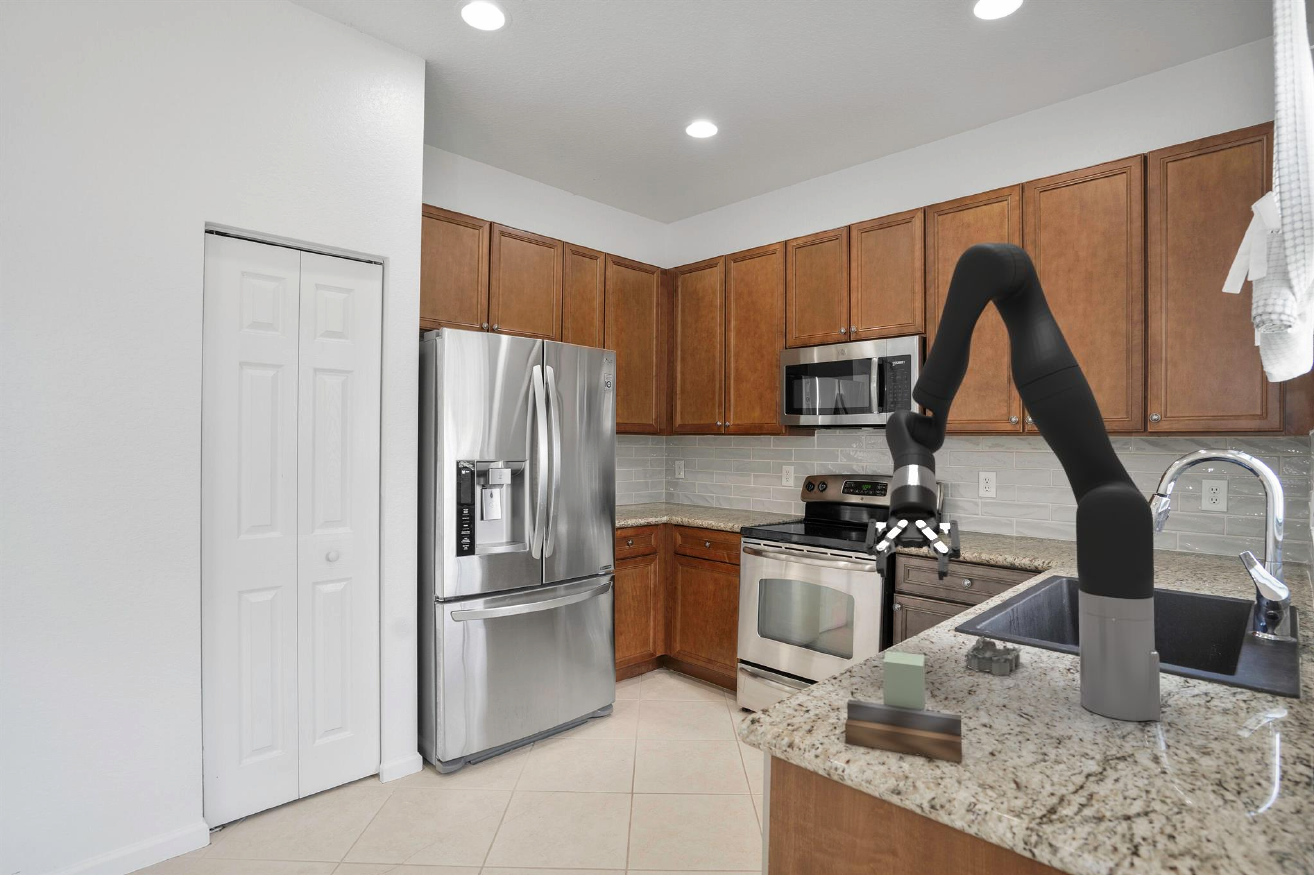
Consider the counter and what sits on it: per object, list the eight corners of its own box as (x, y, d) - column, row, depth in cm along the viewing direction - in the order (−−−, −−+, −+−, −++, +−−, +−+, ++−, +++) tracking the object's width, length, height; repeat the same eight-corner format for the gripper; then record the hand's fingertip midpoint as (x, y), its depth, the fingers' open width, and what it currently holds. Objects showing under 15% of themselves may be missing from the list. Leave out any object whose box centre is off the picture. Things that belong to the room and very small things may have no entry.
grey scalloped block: (982, 656, 126) (982, 634, 126) (1026, 665, 120) (1026, 642, 120) (960, 669, 118) (960, 645, 118) (1006, 679, 113) (1005, 654, 113)
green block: (925, 728, 92) (924, 655, 92) (924, 742, 88) (923, 666, 88) (887, 722, 94) (886, 650, 94) (883, 736, 90) (883, 661, 90)
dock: (961, 729, 92) (961, 696, 92) (961, 762, 82) (961, 725, 83) (856, 713, 98) (856, 682, 98) (845, 742, 88) (844, 708, 88)
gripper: (867, 483, 116) (861, 559, 105) (958, 482, 110) (960, 563, 99) (872, 511, 120) (866, 587, 110) (959, 512, 114) (962, 592, 104)
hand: (911, 575), depth 104 cm, fingers open, 8 cm apart
